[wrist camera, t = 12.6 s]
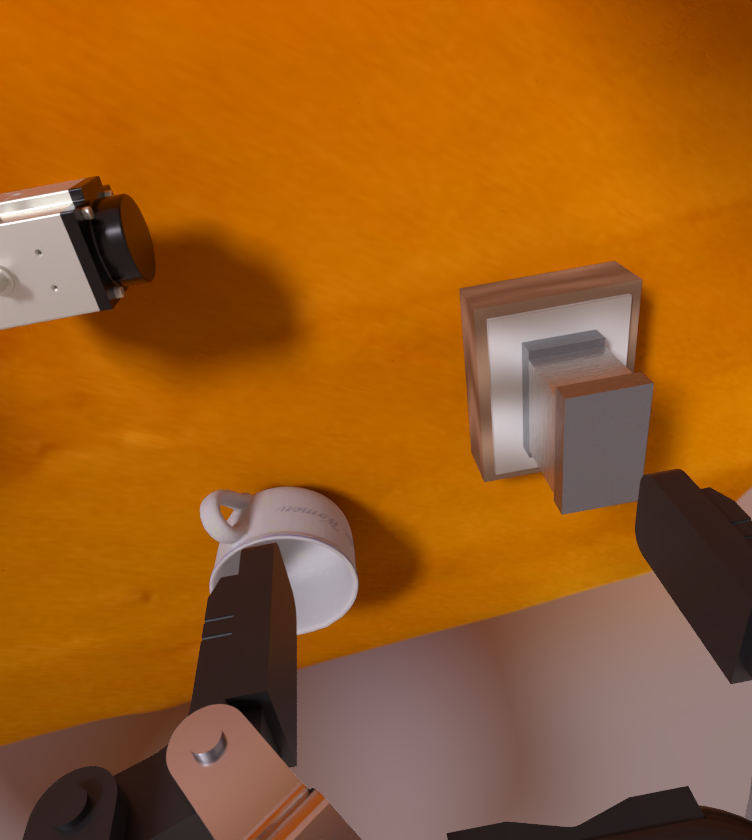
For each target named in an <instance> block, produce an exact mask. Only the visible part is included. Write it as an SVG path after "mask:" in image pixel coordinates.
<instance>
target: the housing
mask: <svg viewBox="0 0 752 840" xmlns="http://www.w3.org/2000/svg"><path fill="white" fill-rule="evenodd" d="M653 385H654V383H653V382H652V381H651V380H650V379H649V378H648V377H647V376H646V375H645V374H644V373H642V372H637V373H632V372H631V371H630V370H629V369H628V368H627V367H626V366H625V365H624V364H623V363H622V362H621V361H620V360H618V359H617V358H616V357H615V356H614V355H613V354H612V353H611V352H610V351H609V350H608V349H607V348H606V347H605V337H604V336H603V335H602V334H601V333H600V332H599V331H597V330H596V329H595V330H590V331H584V332H578V333H573V334H567V335H562V336H556V337H550V338H545V339H539V340H533V341H528V342H522V396H523V447H524V449H525V451H526V453H527V454H528V456H529V458H532V457H533V458H534V460H535V462H536V463H537V465H538V467H539V468H540V470H541V472H542V474H543V475H544V477H545V479H546V480H547V482H548V484H549V486H550V487H551V489H552V491H553V492H554V502H555V503H556V505H557V507H558V509H559V510H560V512H561V514H562V515H563V514H568V513H573V512H579V511H584V510H590V509H595V508H601V507H606V506H611V505H617V504H622V503H628V502H633V501H638V495H639V486H640V480H641V478H642V476H643V472H644V463H645V454H646V446H647V437H648V428H649V420H650V411H651V402H652V394H653Z"/></svg>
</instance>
